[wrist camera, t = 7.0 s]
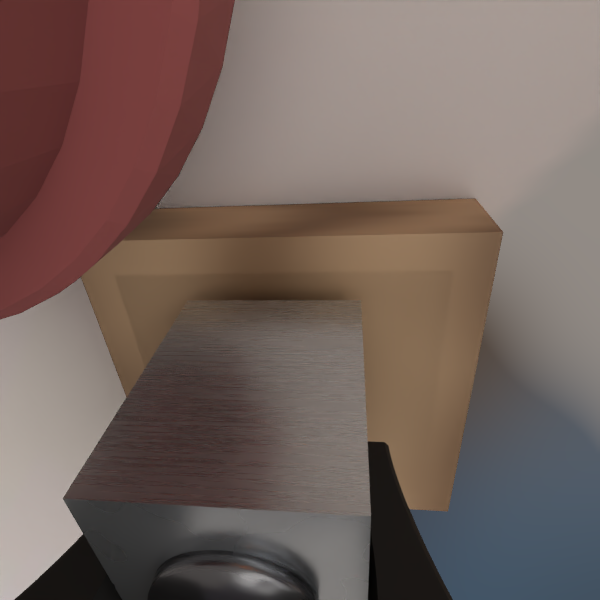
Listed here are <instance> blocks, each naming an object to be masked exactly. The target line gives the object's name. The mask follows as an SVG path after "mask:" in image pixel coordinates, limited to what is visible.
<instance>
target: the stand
mask: <svg viewBox="0 0 600 600" xmlns="http://www.w3.org/2000/svg"><path fill="white" fill-rule="evenodd" d="M502 235H503V231H502V230H501V229H500V228H499V226H498V225H497V224H496V223H495V222H494V220H493V219H492V218H491V217H490V216H489V214H488V213H487V212H486V211H485V209H484V208H483V207H482V206H481V205H480V203H479V202H478V201H477V200H476V199H448V200H417V201H385V202H354V203H322V204H291V205H259V206H228V207H196V208H165V209H154V210H153V211H152V212H151V214H150V215H149V216H148V217H146V218H145V219H144V220H143V221H142V222H141V223H140V224H139V225H138V226H137V227H136V228H135V229H134V230H133V231H132V232H131V233H130V234H129V235H127V236H126V237H125V238H124V239H123V240H122V241H121V242H120V243H119V244H118V245H117V246H115V247H114V248H113V249H112V250H111V251H110V252H109V253H107V254H106V255H105V256H104V257H103V258H102V259H100V260H99V261H98V262H97V263H96V264H95V265H94V266H92V267H91V268H90V269H89V270H88V271H87V272H85V273H84V274H83V275H82V276H81V279H82V281H83V284H84V286H85V289H86V292H87V294H88V297H89V300H90V302H91V305H92V307H93V310H94V313H95V315H96V318H97V321H98V323H99V326H100V328H101V331H102V334H103V336H104V339H105V342H106V344H107V347H108V349H109V352H110V355H111V357H112V360H113V363H114V365H115V368H116V371H117V373H118V376H119V378H120V381H121V384H122V386H123V389H124V392H125V394H126V397H127V396H128V395H129V393H130V391H131V390H132V388H133V387H134V385H135V383H136V382H137V380H138V379H139V377H140V376H141V374H142V372H143V371H144V369H145V368H146V366H147V364H148V363H149V361H150V360H151V358H152V357H153V355H154V353H155V352H156V350H157V349H158V347H159V345H160V344H161V342H162V341H163V339H164V338H165V336H166V334H167V333H168V331H169V330H170V328H171V326H172V325H173V323H174V322H175V320H176V319H177V317H178V315H179V314H180V312H181V311H182V309H183V307H184V306H185V304H186V303H187V301H227V300H361V310H362V331H363V353H364V375H365V397H366V418H367V440H368V441H370V442H385V443H386V444H387V445H388V446H389V451H390V455H391V459H392V462H393V466H394V469H395V472H396V475H397V478H398V481H399V484H400V487H401V489H402V492H403V495H404V497H405V500H406V502H407V505H408V507H409V509H418V510H437V511H448V508H449V503H450V497H451V493H452V488H453V482H454V478H455V472H456V467H457V463H458V458H459V453H460V447H461V442H462V437H463V432H464V427H465V422H466V417H467V412H468V407H469V402H470V397H471V392H472V386H473V381H474V377H475V372H476V366H477V362H478V356H479V351H480V346H481V341H482V336H483V331H484V326H485V321H486V316H487V311H488V306H489V300H490V295H491V291H492V286H493V281H494V276H495V271H496V265H497V260H498V255H499V250H500V245H501V240H502Z"/></svg>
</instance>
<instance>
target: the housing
mask: <svg viewBox="0 0 600 600" xmlns="http://www.w3.org/2000/svg"><path fill="white" fill-rule="evenodd" d="M63 500H64V501H65V503H66V505H67V506H68V508H69V510H70V512H71V513H72V515H73V517H74V518H75V520H76V522H77V523H78V525H79V527H80V529H81V530H82V532H83V534H84V535H85V537H86V539H87V541H88V542H89V544H90V546H91V547H92V549H93V551H94V552H95V554H96V556H97V558H98V559H99V561H100V563H101V564H102V566H103V568H104V570H105V571H106V573H107V575H108V576H109V578H110V580H111V581H112V583H113V585H114V587H115V588H116V590H117V592H118V593H119V595H120V597H121V598H122V600H368V580H369V555H370V529H371V505H370V483H369V462H368V440H367V418H366V397H365V375H364V353H363V331H362V310H361V300H227V301H187V303H186V304H185V306H184V307H183V309H182V311H181V312H180V314H179V315H178V317H177V319H176V320H175V322H174V323H173V325H172V326H171V328H170V330H169V331H168V333H167V334H166V336H165V338H164V339H163V341H162V342H161V344H160V345H159V347H158V349H157V350H156V352H155V353H154V355H153V357H152V358H151V360H150V361H149V363H148V364H147V366H146V368H145V369H144V371H143V372H142V374H141V376H140V377H139V379H138V380H137V382H136V383H135V385H134V387H133V388H132V390H131V391H130V393H129V395H128V396H127V398H126V399H125V401H124V402H123V404H122V406H121V407H120V409H119V410H118V412H117V414H116V415H115V417H114V418H113V420H112V421H111V423H110V425H109V426H108V428H107V429H106V431H105V433H104V434H103V436H102V437H101V439H100V441H99V442H98V444H97V445H96V447H95V448H94V450H93V452H92V453H91V455H90V456H89V458H88V460H87V461H86V463H85V464H84V466H83V467H82V469H81V471H80V472H79V474H78V475H77V477H76V479H75V480H74V482H73V483H72V485H71V486H70V488H69V490H68V491H67V493H66V494H65V496H64V498H63Z"/></svg>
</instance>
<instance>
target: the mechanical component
mask: <svg viewBox="0 0 600 600" xmlns="http://www.w3.org/2000/svg"><path fill="white" fill-rule="evenodd" d="M234 1H235V0H0V319H3V318H6V317H9V316H13V315H16V314H19V313H22V312H24V311H26V310H27V309H29V308H31V307H33V306H35V305H37V304H39V303H41V302H43V301H45V300H47V299H48V298H50V297H52V296H54V295H56V294H58V293H60V292H61V291H62V290H64V289H65V288H67V287H68V286H69V285H71V284H72V283H74V282H75V281H76V280H77V279H79V278H80V277H81V276H82V275H83V274H84V273H85V272H87V271H88V270H89V269H90V268H91V267H92V266H94V265H95V264H96V263H97V262H98V261H99V260H100V259H102V258H103V257H104V256H105V255H106V254H107V253H109V252H110V251H111V250H112V249H113V248H114V247H115V246H117V245H118V244H119V243H120V242H121V241H122V240H123V239H124V238H125V237H126V236H127V235H129V234H130V233H131V232H132V231H133V230H134V229H135V228H136V227H137V226H138V225H139V224H140V223H141V222H142V221H143V220H144V219H145V218H146V217H148V216H149V215H150V214H151V212H152V211H153V210H154V208H155V207H156V205H157V204H158V203H159V201H160V200H161V199H162V197H163V196H164V195H165V193H166V192H167V190H168V189H169V188H170V186H171V185H172V184H173V182H174V181H175V180H176V178H177V177H178V175H179V173H180V171H181V169H182V167H183V165H184V163H185V161H186V159H187V157H188V155H189V153H190V151H191V149H192V148H193V146H194V144H195V142H196V140H197V138H198V136H199V134H200V132H201V130H202V128H203V125H204V122H205V118H206V115H207V112H208V109H209V106H210V103H211V100H212V97H213V94H214V91H215V88H216V85H217V82H218V79H219V76H220V73H221V70H222V66H223V61H224V55H225V50H226V44H227V39H228V34H229V28H230V23H231V17H232V12H233V7H234Z"/></svg>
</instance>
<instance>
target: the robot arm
mask: <svg viewBox="0 0 600 600" xmlns="http://www.w3.org/2000/svg"><path fill="white" fill-rule="evenodd" d="M368 462H369V483H370V505H371V529H370V555H369V580H368V600H452V597H451V596H450V594H449V592H448V590H447V588H446V586H445V584H444V582H443V580H442V579H441V576H440V575H439V573H438V571H437V569H436V566H435V565H434V562H433V560H432V558H431V556H430V554H429V552H428V551H427V548H426V546H425V544H424V542H423V539H422V537H421V535H420V533H419V531H418V528H417V526H416V524H415V522H414V519H413V517H412V514H411V512H410V510H409V507H408V505H407V502H406V500H405V497H404V495H403V492H402V489H401V487H400V484H399V481H398V478H397V475H396V472H395V469H394V466H393V462H392V459H391V455H390V451H389V446H388V445H387V444H386V443H385V442H370V441H368ZM15 600H122V598H121V597H120V595H119V593H118V592H117V590H116V588H115V587H114V585H113V583H112V581H111V580H110V578H109V576H108V575H107V573H106V571H105V570H104V568H103V566H102V564H101V563H100V561H99V559H98V558H97V556H96V554H95V552H94V551H93V549H92V547H91V546H90V544H89V542H88V541H87V539H86V537H85V535H84V534H83V535H82V536H81V537H80V538H79V539H78V540H77V541H76V542H75V543H74V544H73V545H72V546H71V547H70V548H69V549H68V550H67V551H66V552H65V553H64V554H63V555H62V556H61V557H60V558H59V559H58V560H57V561H56V562H55V563H54V564H53V565H52V566H51V567H50V568H49V569H48V570H47V571H46V572H44V573H43V574H42V575H41V576H40V577H39V578H38V579H37V580H36V581H35V582H34V583H33V584H32V585H30V586H29V587H28V588H27V589H26V590H25V591H24V592H23V593H21V594H20V595H19V596H18V597H17V598H16V599H15Z"/></svg>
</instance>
